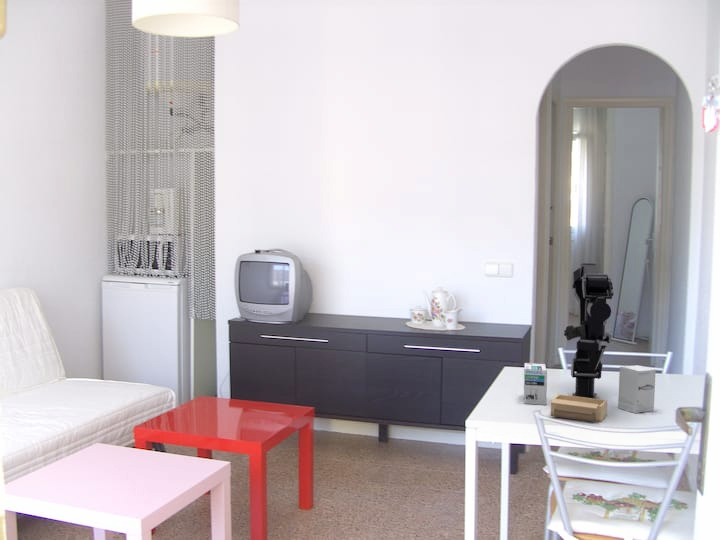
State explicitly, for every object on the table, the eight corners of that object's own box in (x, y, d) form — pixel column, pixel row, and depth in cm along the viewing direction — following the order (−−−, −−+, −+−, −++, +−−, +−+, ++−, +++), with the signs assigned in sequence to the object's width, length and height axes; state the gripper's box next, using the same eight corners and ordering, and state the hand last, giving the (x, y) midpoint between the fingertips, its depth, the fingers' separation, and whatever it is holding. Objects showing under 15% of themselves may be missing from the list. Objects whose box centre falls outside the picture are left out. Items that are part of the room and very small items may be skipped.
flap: (550, 402, 214) (551, 417, 216) (596, 408, 208) (596, 423, 210) (553, 398, 217) (553, 413, 218) (598, 404, 211) (598, 419, 212)
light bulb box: (546, 405, 229) (547, 370, 229) (523, 404, 231) (524, 368, 230) (545, 397, 240) (546, 363, 239) (523, 396, 241) (524, 362, 240)
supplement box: (635, 413, 221) (637, 370, 220) (617, 407, 228) (618, 366, 227) (654, 411, 224) (656, 369, 223) (636, 405, 230) (637, 364, 230)
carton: (558, 409, 225) (558, 394, 225) (606, 415, 218) (607, 400, 218) (550, 415, 218) (550, 399, 217) (600, 422, 211) (601, 406, 211)
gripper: (574, 311, 234) (573, 362, 235) (559, 318, 218) (557, 372, 219) (612, 314, 229) (610, 365, 230) (599, 321, 212) (597, 376, 213)
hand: (593, 370), depth 223 cm, fingers closed
